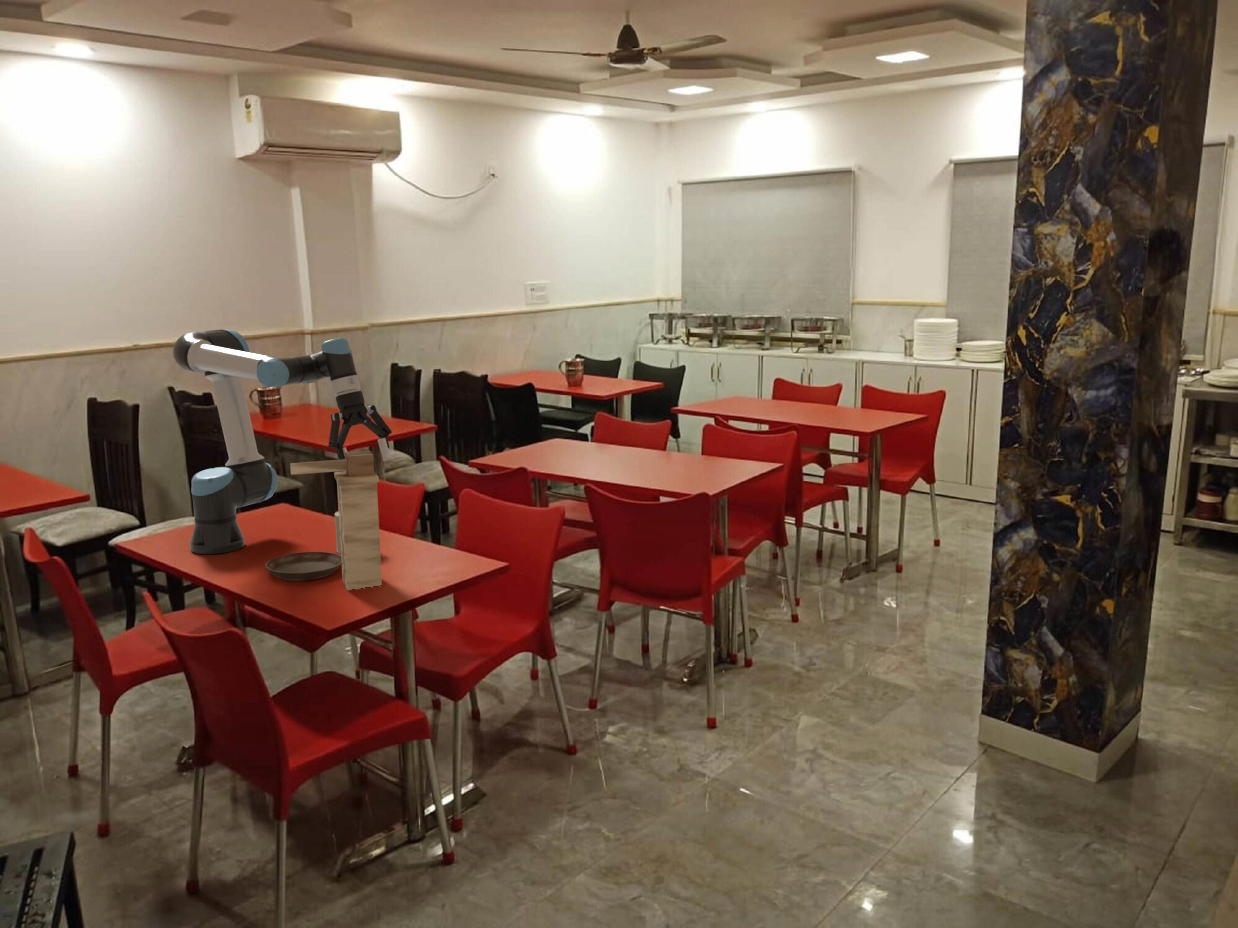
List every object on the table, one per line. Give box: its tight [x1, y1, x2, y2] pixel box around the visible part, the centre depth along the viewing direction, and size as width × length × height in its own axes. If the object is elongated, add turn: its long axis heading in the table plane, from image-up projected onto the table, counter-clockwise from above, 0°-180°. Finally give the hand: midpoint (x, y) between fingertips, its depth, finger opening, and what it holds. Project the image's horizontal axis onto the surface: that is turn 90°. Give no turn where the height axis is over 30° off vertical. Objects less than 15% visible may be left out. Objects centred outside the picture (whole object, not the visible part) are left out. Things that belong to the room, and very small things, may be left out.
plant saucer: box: [265, 551, 342, 582], centre depth 274 cm, size 21×21×3 cm
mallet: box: [289, 450, 375, 477], centre depth 256 cm, size 6×20×6 cm, turn 113°
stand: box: [333, 470, 383, 591], centre depth 262 cm, size 10×10×30 cm
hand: (368, 465), depth 280 cm, fingers open, 13 cm apart
